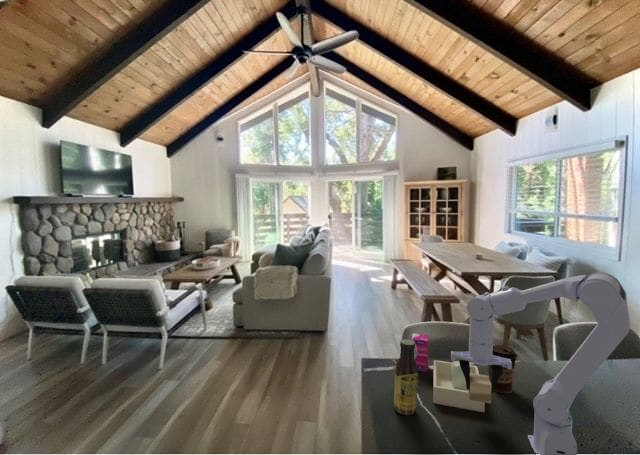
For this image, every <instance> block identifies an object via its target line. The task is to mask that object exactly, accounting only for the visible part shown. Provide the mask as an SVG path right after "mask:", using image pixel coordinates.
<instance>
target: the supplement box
mask: <svg viewBox="0 0 640 455" xmlns="http://www.w3.org/2000/svg"><path fill="white" fill-rule="evenodd" d="M411 340H412V341H414V342H415V349H414V359H415V361H416V365H417V371H418V372H419V371H420V372H425V373H428V372H429V342H430V341H429V335H428V334H422V333H414V332H413V333H412V334H411Z"/></svg>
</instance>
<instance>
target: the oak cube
mask: <svg viewBox="0 0 640 455" xmlns="http://www.w3.org/2000/svg"><path fill="white" fill-rule="evenodd" d="M469 380H470V390H468V393H469V398H470V400H472V401H478V402H484V403H485V404H492V393H491V388H492V385H491V382H490V379H489V375H487V374H486V375H485V374H480V373H479V374H473V373H470V378H469Z"/></svg>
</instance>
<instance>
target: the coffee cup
mask: <svg viewBox="0 0 640 455" xmlns="http://www.w3.org/2000/svg"><path fill="white" fill-rule="evenodd" d="M492 355H494V356H498V357H502V358H507V359H510V360H511V362H512V369H507V368H506V367H502V369H503V374H502V376H501V377H500V378H499V380H498V381H497V383H496V385H495V388H494V391H493V392H497V393H501V394H511V393H512V392H513V379H514V376H515V364H516V360H517V357H518V355H517V354H516V352H515V349H514V348H512V347H510V346H507V345H501V344H495V345H494V344H493V353H492ZM487 366H488V376H489V379H490V365H487Z"/></svg>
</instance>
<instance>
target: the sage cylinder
mask: <svg viewBox="0 0 640 455" xmlns="http://www.w3.org/2000/svg"><path fill="white" fill-rule="evenodd" d="M451 374H452V387H453V388H455V389H459V390H468V389H467V388H466V380H465V377H464V374H463V372H462V370H461V367H460V363H459V361H451Z"/></svg>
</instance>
